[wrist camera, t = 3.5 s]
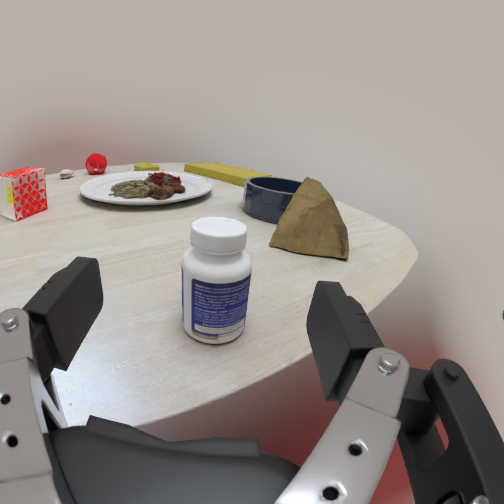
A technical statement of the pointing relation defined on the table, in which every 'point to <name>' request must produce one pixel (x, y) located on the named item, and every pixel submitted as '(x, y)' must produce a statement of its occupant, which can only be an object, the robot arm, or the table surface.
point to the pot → (268, 197)
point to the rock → (312, 224)
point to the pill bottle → (215, 280)
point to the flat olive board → (223, 172)
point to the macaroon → (66, 173)
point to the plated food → (145, 188)
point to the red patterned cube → (22, 193)
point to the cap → (96, 163)
